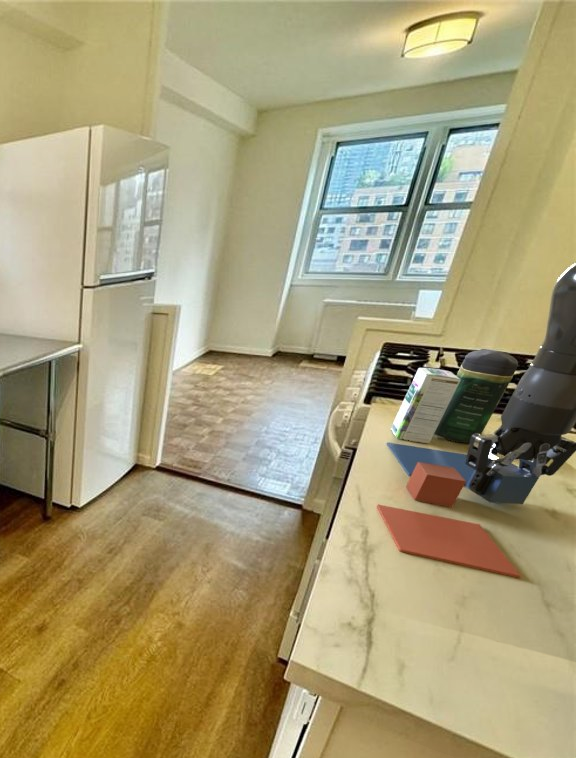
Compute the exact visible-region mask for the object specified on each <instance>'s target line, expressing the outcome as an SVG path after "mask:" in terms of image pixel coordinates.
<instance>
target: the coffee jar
mask: <svg viewBox="0 0 576 758" xmlns="http://www.w3.org/2000/svg"><path fill="white" fill-rule="evenodd" d="M518 366H519V362H518V360H517V359H516V358H515V357H514V356H512V355H511V354H509V353H508V351H502V350H494V349H489V348H488V349H487V348H481V349H478V350H473V351H471V352H468V353H467V354H466V355H465V357H464V359H463V361H462V363H461V365H460V367H459V370H458V371H457V374H455V376H457V377H458V378H460V379H461V381H460V382H459V384H458V387H457V389H456V391H455V393H454V395H453V397H452V399H451V401H450V403H449V405H448V407H447V409H446V410H445V413H444V415H443V417H442V419H441V421H440V423H439V425H438V427H437V429H436V431H435V433H434V434H433V435H434V436H438V437H441V438H443V439H445V440H447V441H450V440H451V442H455V441H456V443H468V444H470V440H471V436H472V435H473V434H475V433H479V434H481V435H482V434H483V432H484V430H485V429H486V427H487V425H488V423H489V421H490V419H491V417H492V416H493V414H494V412H495V410H496V409H497V407H498V405H499V404H500V402H501V400H502V398H503V397H504V395H505V392H506V390H507V388H508V387H509V384H510V383H511V381H512V378H513V377H514V375H515V372H516V371H517V368H518Z"/></svg>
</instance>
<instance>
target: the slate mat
mask: <svg viewBox="0 0 576 758" xmlns="http://www.w3.org/2000/svg"><path fill="white" fill-rule="evenodd" d="M386 445H387V447H388V446H389V447H388V448H389V450H390V449H391V450H390V451H391V453H392V454H393V455H394V457H395V458H396V461H398V463H399V465H400V466H401V467H402V469H403V470H404V471H405V473H406V474H407V476H408V477H411V475H412V473H413V471H414V469H415V467H416V465H417V463H418V462H421V463H427V464H433V465H439V466H445V467H451V468H455V469H456V470H457V472H458V473H459V474H460V475H461V476H462V477H463V478H464V480H465V481H466V482H465V484H464V486H463V487H465V486H466V485H467V483H468V481H469V479H470V477H471V475H472V473H473V471H474V469H473V468H471V467H469V466H468V465H466V458H467V454H466V453H460V452H455V451H447V450H439V449H435V448H434V449H433V448H428V447H422V446H421V447H420V446H414V445H409V444H401V443H394V442H388V441H387V442H386Z"/></svg>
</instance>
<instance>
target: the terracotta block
mask: <svg viewBox="0 0 576 758" xmlns="http://www.w3.org/2000/svg"><path fill="white" fill-rule="evenodd" d="M465 482H466V481H465V480H464V478H463V477H462V476H461V475H460V474H459V473H458V472H457V470H456V469H455V468H451V467H445V466H439V465H433V464H427V463H421V462H418V463H417V465H416V467H415V469H414V471H413V473H412V475H411V476H409V480H408V481H407V483H406V489H407V490H408V492H409V494H410V495H411V497H412V499H413V500H414V501H417V502H422V503H428V504H432V505H438V506H443V507H448V508H453V506H454V504H455V503H456V501H457V499H458V497H459V495H460V494H461V492H462V490H463V488H464V487H465V486H464V484H465Z"/></svg>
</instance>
